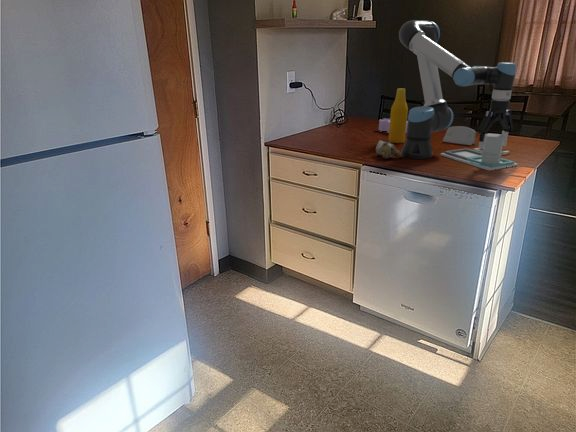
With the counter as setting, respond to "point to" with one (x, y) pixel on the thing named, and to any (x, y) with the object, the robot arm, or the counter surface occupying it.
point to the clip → (386, 125)
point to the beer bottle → (398, 118)
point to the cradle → (482, 151)
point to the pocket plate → (476, 159)
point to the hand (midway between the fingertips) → (492, 147)
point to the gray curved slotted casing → (460, 135)
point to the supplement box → (493, 148)
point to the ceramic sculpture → (387, 150)
